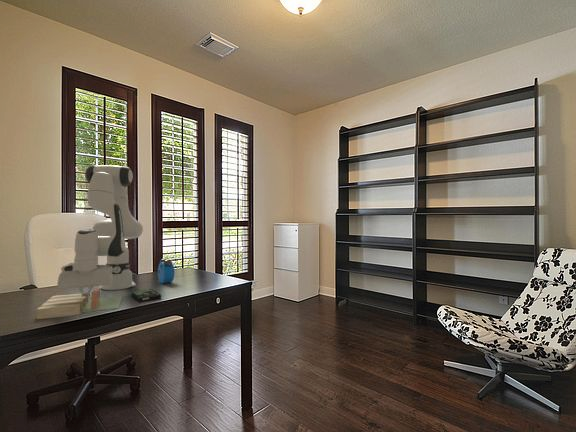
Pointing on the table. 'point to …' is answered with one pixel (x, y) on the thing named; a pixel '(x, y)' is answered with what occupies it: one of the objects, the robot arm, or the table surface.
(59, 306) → the riser
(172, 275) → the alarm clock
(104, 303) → the mat
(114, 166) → the robot arm
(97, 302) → the orange flat block
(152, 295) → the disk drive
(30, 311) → the table surface
